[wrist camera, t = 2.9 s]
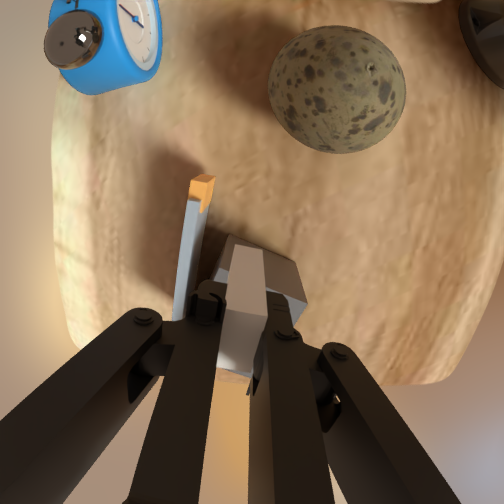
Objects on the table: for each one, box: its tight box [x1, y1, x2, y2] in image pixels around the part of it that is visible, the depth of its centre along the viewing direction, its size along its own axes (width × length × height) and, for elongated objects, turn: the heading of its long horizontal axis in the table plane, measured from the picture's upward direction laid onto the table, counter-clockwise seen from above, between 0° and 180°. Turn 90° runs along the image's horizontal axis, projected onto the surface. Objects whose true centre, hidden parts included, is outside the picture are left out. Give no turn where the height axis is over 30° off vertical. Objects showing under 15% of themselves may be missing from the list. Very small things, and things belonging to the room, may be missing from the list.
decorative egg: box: [268, 26, 406, 154], centre depth 20 cm, size 11×11×15 cm
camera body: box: [209, 234, 308, 378], centre depth 30 cm, size 11×8×10 cm
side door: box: [172, 174, 216, 321], centre depth 29 cm, size 16×1×7 cm, turn 167°
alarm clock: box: [44, 0, 162, 95], centre depth 17 cm, size 13×6×15 cm, turn 4°
